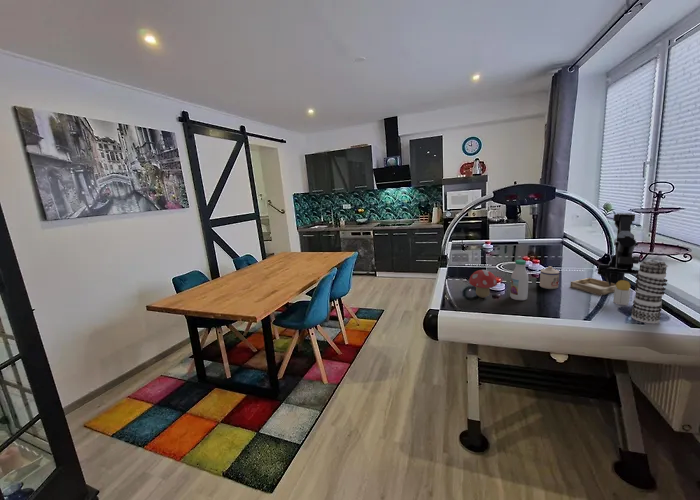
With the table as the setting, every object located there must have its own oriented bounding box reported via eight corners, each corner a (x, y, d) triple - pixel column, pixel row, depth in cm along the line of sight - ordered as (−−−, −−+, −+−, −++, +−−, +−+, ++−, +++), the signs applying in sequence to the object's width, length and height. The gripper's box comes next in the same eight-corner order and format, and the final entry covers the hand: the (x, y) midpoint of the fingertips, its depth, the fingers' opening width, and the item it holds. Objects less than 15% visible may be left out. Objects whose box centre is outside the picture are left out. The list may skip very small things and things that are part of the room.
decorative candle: (624, 313, 129) (632, 258, 124) (651, 314, 126) (660, 258, 121) (638, 322, 120) (646, 263, 115) (666, 324, 117) (677, 263, 112)
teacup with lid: (553, 290, 159) (555, 269, 157) (536, 286, 167) (537, 266, 165) (564, 285, 166) (565, 265, 163) (546, 281, 173) (547, 262, 171)
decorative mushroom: (499, 302, 149) (501, 273, 145) (471, 302, 151) (472, 274, 148) (492, 293, 161) (493, 266, 158) (466, 292, 164) (467, 266, 161)
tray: (588, 282, 168) (589, 277, 167) (619, 290, 154) (620, 284, 153) (570, 286, 163) (570, 281, 162) (600, 295, 149) (601, 289, 149)
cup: (617, 300, 142) (619, 286, 141) (631, 303, 138) (633, 289, 136) (610, 302, 141) (612, 288, 139) (623, 305, 136) (625, 291, 134)
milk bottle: (525, 295, 155) (527, 258, 151) (528, 301, 148) (531, 262, 144) (508, 294, 157) (510, 258, 153) (511, 300, 150) (513, 262, 146)
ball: (619, 288, 141) (620, 278, 140) (632, 291, 136) (633, 281, 135) (612, 289, 139) (613, 279, 138) (625, 293, 135) (626, 282, 134)
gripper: (600, 247, 143) (598, 275, 137) (655, 251, 132) (655, 281, 126) (598, 260, 151) (596, 286, 145) (649, 264, 139) (650, 293, 133)
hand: (623, 286), depth 137 cm, fingers open, 9 cm apart
